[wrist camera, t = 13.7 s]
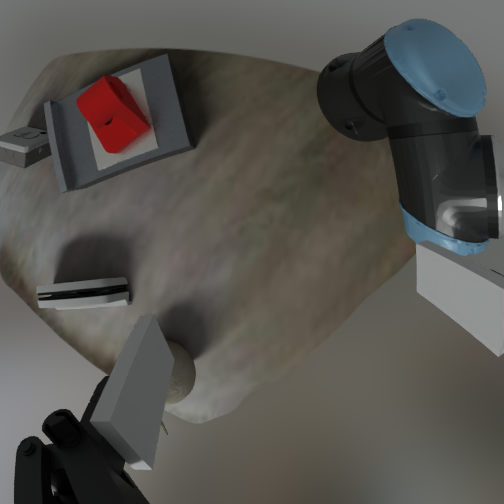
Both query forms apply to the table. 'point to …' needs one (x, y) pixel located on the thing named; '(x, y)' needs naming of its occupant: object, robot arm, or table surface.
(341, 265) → the table surface
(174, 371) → the fruit
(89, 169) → the grey ridged box
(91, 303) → the grey curved slab
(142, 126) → the bracket
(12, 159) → the electrical switch
